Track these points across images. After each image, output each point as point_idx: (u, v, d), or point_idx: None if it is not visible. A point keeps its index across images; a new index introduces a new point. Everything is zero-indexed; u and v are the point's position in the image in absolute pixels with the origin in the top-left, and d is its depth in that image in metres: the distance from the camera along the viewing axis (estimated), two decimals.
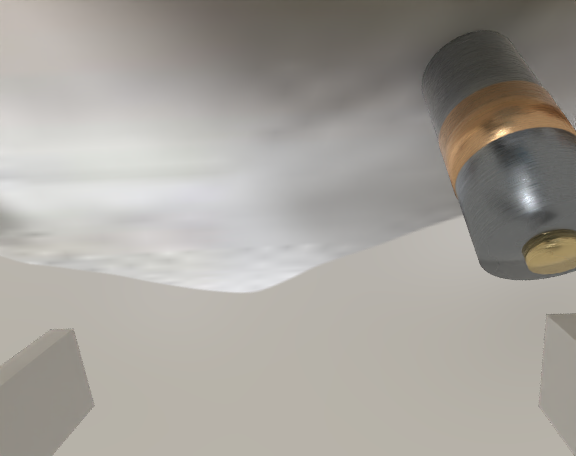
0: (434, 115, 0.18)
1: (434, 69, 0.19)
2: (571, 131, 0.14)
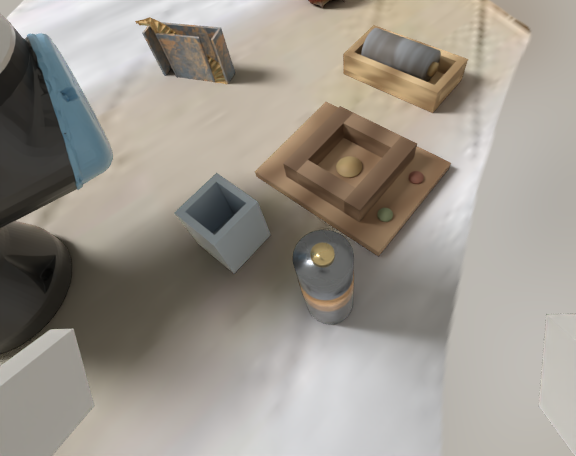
0: (312, 309, 0.35)
1: (307, 306, 0.37)
2: None
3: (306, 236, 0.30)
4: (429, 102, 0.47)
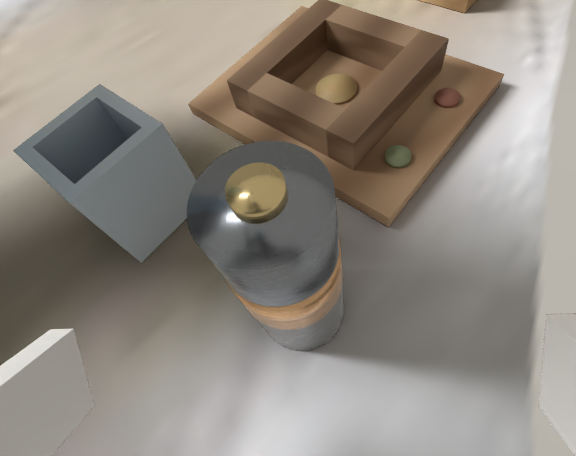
0: (262, 324, 0.18)
1: None
2: None
3: (225, 156, 0.13)
4: None
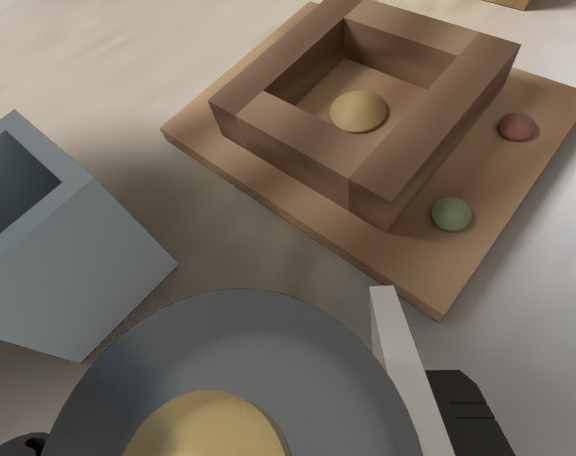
0: None
1: None
2: None
3: (146, 326, 0.05)
4: None
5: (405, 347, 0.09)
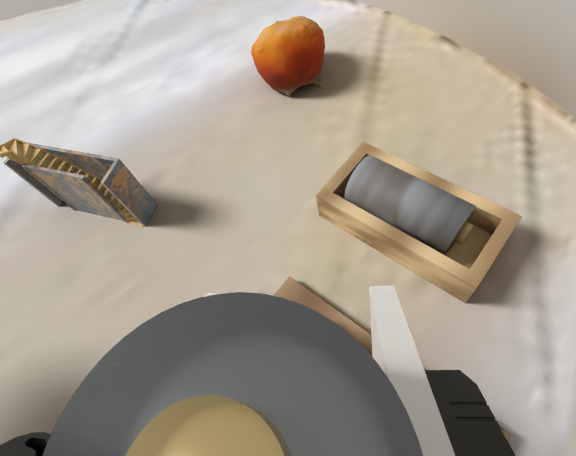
0: None
1: None
2: None
3: (146, 330, 0.05)
4: (460, 291, 0.28)
5: (405, 347, 0.09)
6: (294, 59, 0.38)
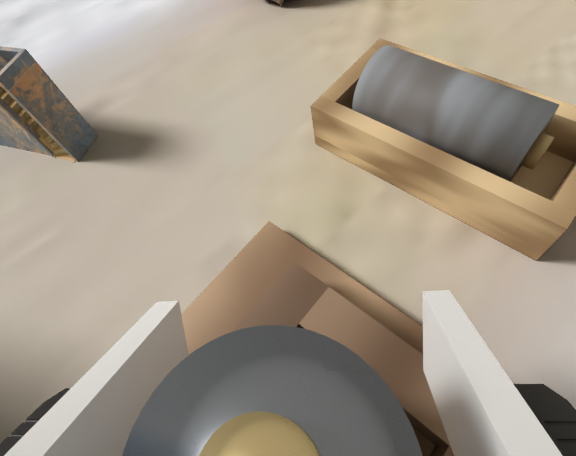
0: None
1: None
2: None
3: (198, 356, 0.06)
4: (532, 240, 0.18)
5: (485, 359, 0.08)
6: None
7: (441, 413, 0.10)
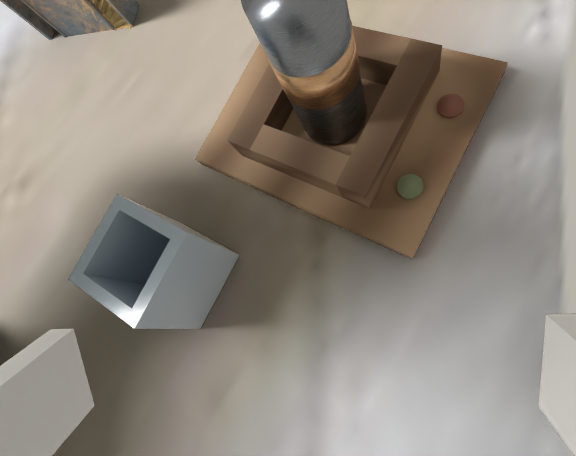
0: (307, 119, 0.24)
1: None
2: None
3: None
4: None
5: None
6: None
7: None
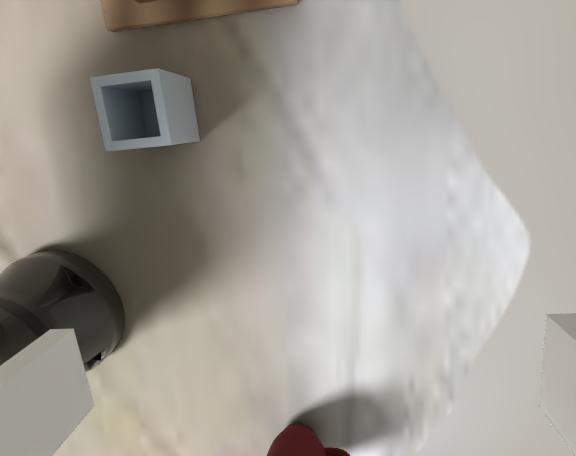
0: None
1: None
2: None
3: None
4: None
5: None
6: None
7: None
